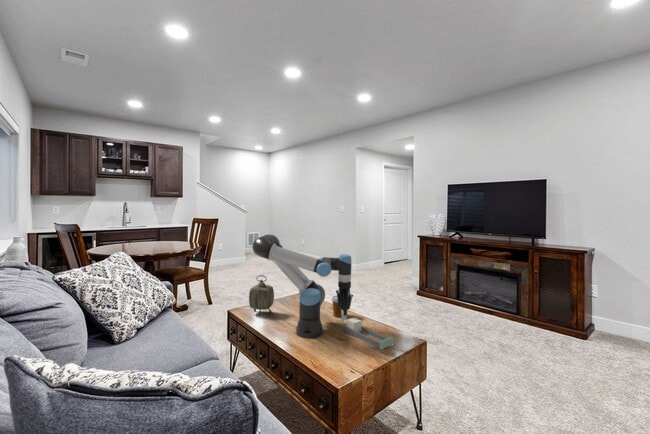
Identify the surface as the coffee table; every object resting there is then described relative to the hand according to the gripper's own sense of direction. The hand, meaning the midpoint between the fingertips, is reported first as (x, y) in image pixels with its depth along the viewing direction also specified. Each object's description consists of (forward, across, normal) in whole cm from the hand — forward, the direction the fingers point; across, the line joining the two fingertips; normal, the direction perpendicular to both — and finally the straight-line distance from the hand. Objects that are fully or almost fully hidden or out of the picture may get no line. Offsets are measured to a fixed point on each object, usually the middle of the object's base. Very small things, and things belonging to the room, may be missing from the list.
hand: (343, 319), depth 187 cm
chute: (+4, -18, 0) cm, 18 cm away
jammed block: (+4, -9, 0) cm, 10 cm away
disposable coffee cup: (+4, +14, -8) cm, 17 cm away
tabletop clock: (+4, +46, +31) cm, 56 cm away
